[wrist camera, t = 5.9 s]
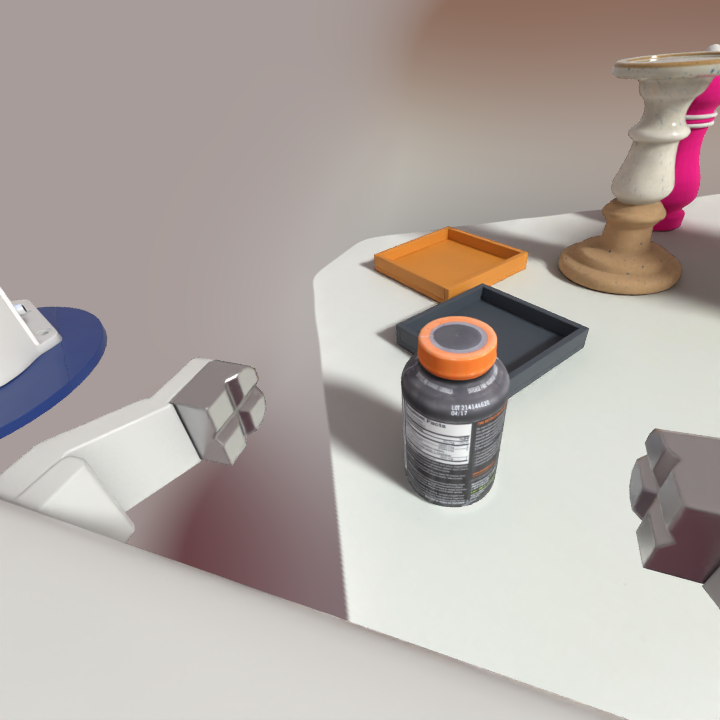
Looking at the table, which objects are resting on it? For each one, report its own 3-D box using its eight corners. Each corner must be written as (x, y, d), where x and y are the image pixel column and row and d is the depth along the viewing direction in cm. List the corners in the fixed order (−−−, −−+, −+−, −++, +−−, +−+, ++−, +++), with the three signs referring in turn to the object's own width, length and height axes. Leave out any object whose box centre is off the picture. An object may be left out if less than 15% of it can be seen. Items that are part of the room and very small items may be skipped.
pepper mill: (697, 228, 55) (776, 40, 43) (646, 235, 55) (712, 47, 43) (659, 211, 61) (719, 41, 49) (612, 218, 60) (661, 48, 48)
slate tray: (396, 342, 40) (395, 324, 39) (480, 300, 45) (482, 282, 44) (494, 408, 32) (497, 388, 31) (583, 347, 37) (589, 328, 36)
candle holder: (601, 241, 55) (654, 52, 42) (702, 273, 46) (806, 46, 33) (535, 268, 50) (572, 65, 38) (633, 308, 41) (722, 62, 29)
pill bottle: (464, 428, 31) (477, 294, 24) (513, 491, 26) (546, 348, 19) (390, 453, 30) (382, 320, 23) (428, 524, 25) (433, 384, 18)
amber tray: (374, 269, 54) (373, 254, 52) (447, 240, 59) (448, 226, 58) (448, 307, 45) (448, 289, 44) (525, 268, 50) (528, 252, 49)
